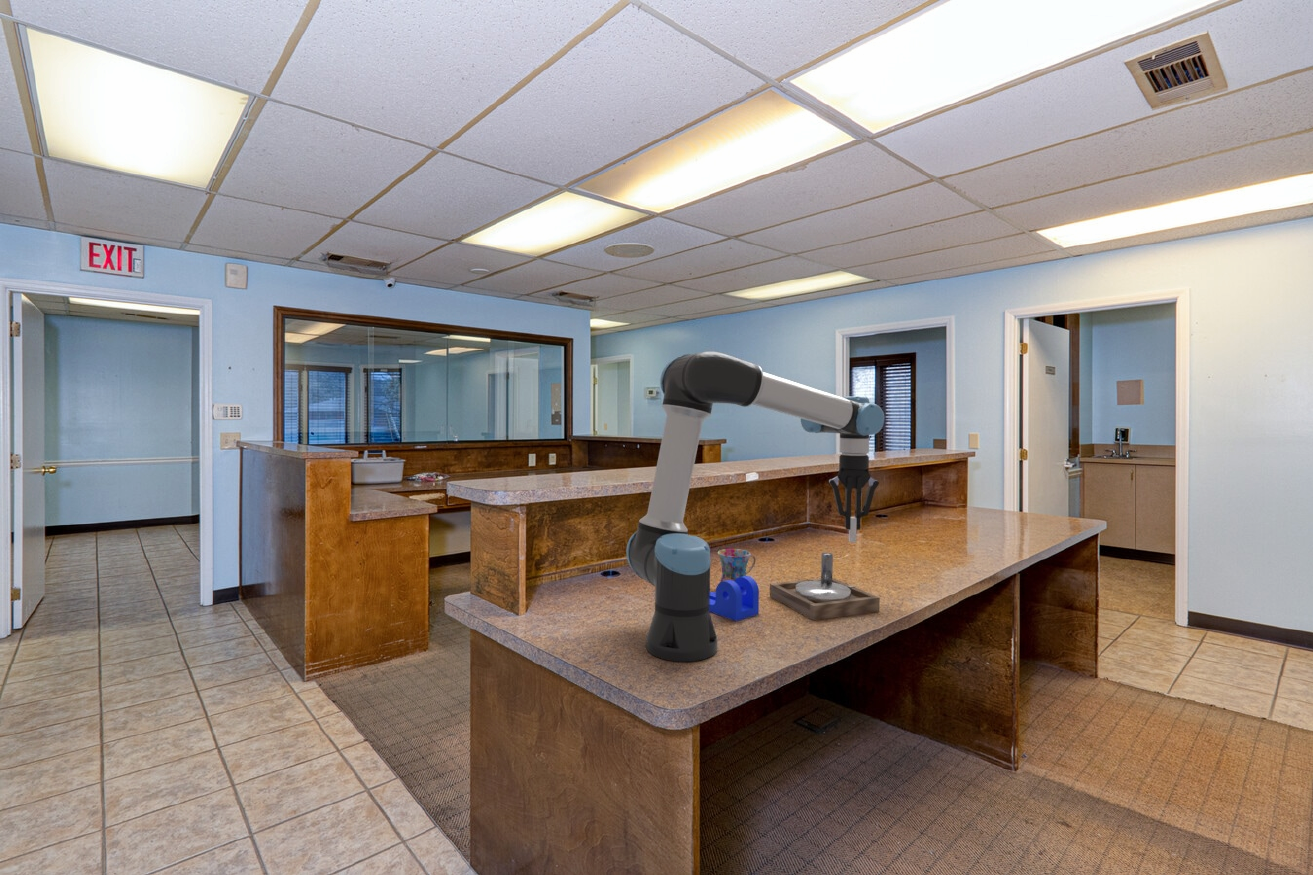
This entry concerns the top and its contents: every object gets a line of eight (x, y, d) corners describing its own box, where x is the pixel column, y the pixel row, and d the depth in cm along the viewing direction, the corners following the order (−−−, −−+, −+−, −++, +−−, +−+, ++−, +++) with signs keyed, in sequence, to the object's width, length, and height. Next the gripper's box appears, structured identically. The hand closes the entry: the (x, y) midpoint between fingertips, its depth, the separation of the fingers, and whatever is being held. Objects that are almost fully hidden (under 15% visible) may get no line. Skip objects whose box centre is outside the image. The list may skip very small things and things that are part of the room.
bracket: (758, 614, 152) (759, 579, 152) (736, 621, 147) (736, 584, 146) (707, 597, 166) (707, 564, 165) (685, 603, 160) (685, 569, 160)
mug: (729, 596, 166) (729, 557, 165) (710, 587, 174) (711, 550, 174) (764, 590, 172) (765, 553, 171) (745, 582, 180) (745, 546, 179)
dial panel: (813, 620, 148) (813, 605, 147) (769, 596, 166) (769, 582, 166) (879, 611, 155) (879, 596, 155) (830, 589, 173) (830, 576, 173)
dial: (846, 607, 151) (847, 567, 151) (790, 599, 157) (790, 560, 157) (853, 592, 164) (854, 555, 163) (801, 585, 170) (802, 549, 169)
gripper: (876, 453, 165) (874, 539, 166) (827, 452, 167) (825, 537, 168) (882, 455, 158) (880, 545, 159) (830, 454, 160) (829, 543, 161)
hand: (852, 541), depth 163 cm, fingers closed
